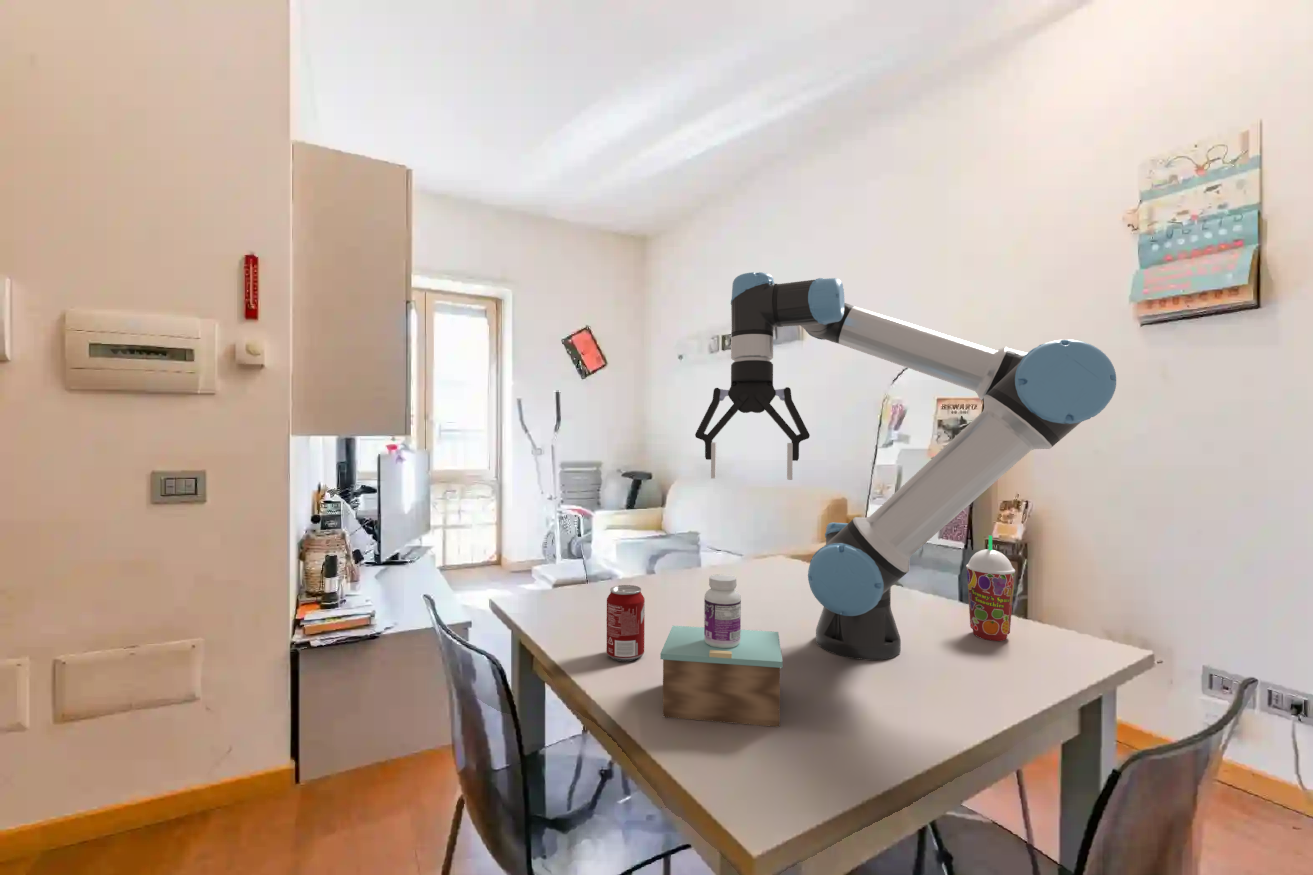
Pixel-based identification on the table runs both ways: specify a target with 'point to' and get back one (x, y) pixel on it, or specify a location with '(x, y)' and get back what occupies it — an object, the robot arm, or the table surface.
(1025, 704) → the table surface
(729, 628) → the pill bottle
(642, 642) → the soda can
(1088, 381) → the robot arm
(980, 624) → the smoothie
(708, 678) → the keepsake box
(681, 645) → the lid
